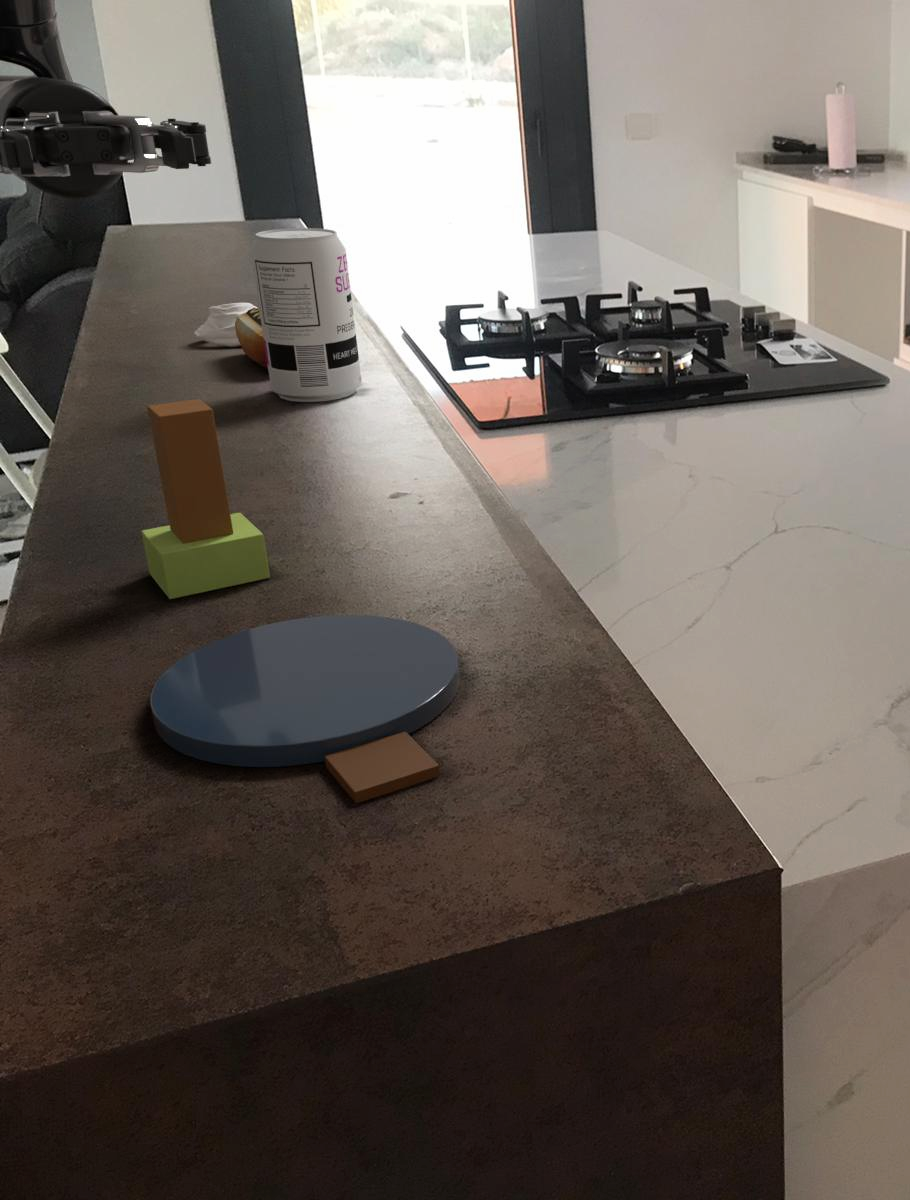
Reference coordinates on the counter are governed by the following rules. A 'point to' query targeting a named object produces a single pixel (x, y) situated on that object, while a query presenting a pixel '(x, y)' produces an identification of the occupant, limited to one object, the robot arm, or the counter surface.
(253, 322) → the golden brown half oval
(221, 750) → the plate
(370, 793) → the food crust
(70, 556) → the counter surface
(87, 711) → the counter surface
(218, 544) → the sponge brush
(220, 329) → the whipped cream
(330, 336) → the supplement can
